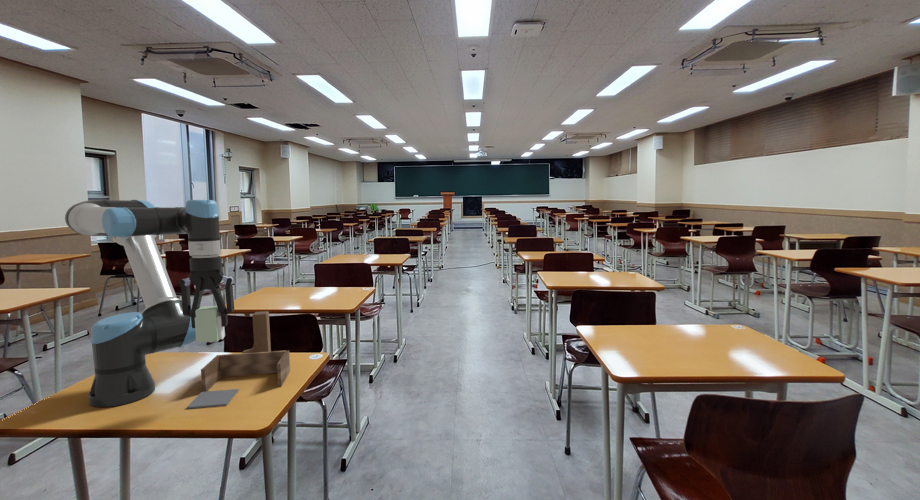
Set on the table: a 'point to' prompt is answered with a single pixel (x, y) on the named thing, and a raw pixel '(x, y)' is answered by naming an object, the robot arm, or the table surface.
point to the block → (207, 324)
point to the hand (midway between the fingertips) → (210, 338)
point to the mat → (213, 398)
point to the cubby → (246, 366)
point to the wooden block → (260, 333)
